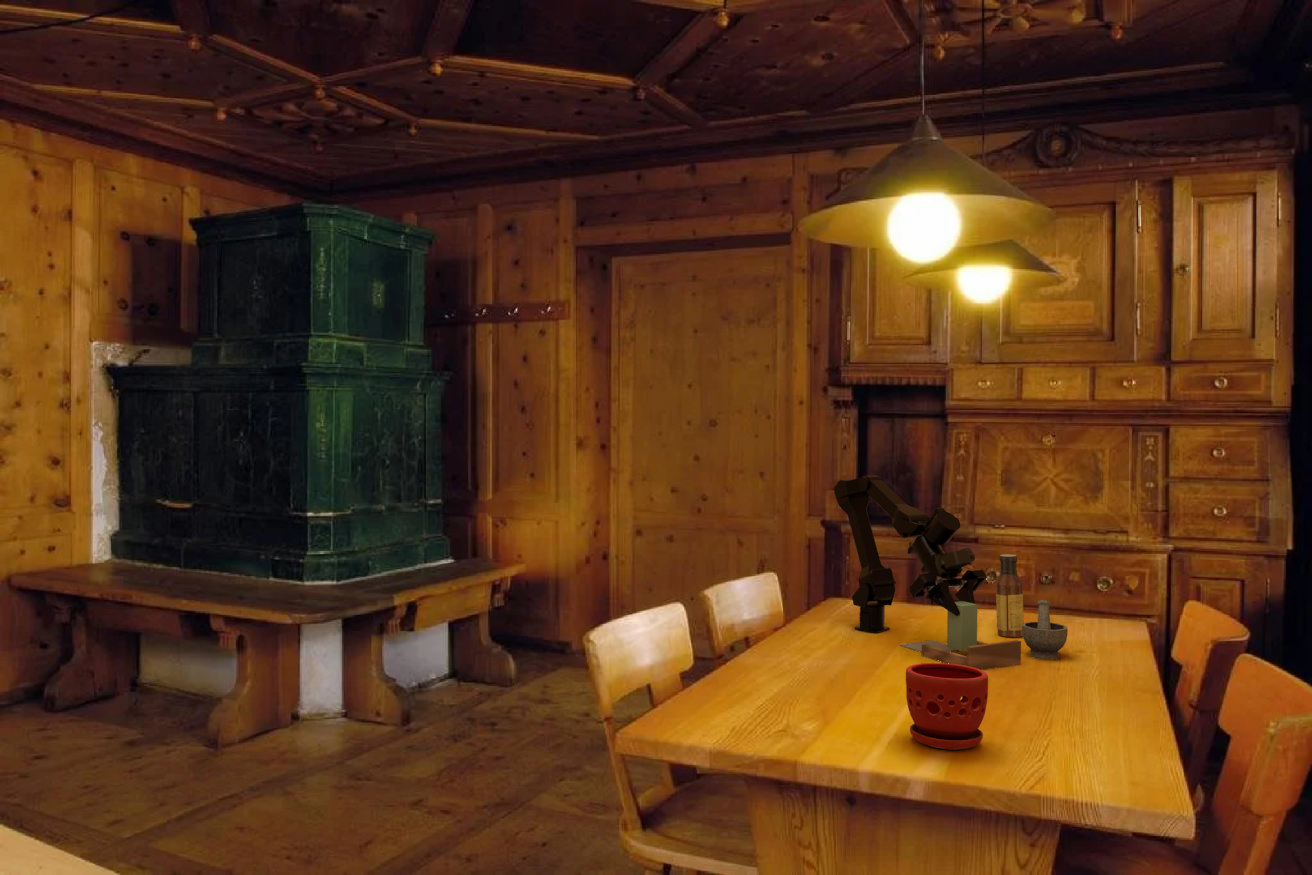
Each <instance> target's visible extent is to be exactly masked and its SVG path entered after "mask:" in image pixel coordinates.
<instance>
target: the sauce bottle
mask: <svg viewBox="0 0 1312 875" xmlns="http://www.w3.org/2000/svg"><path fill="white" fill-rule="evenodd" d="M999 562H1000V571H999V572H1000V574H999V575H998V577H997V579H996V581H995V584H996V587H995V589H996V593H995V597H996V598H995V600H996V601H995V602H996V603H995V605H996V629H997V634H998V636H1001V637H1003V638H1004V637H1005V638H1021V637H1023V633H1022V623H1025V622H1024V620H1025V617H1024V592H1023V583H1022V581H1021V579H1020V576H1019V575H1018V571H1017V570H1018V569H1017V562H1018V556H1017V555H1016V554H1013V553H1012V554H1011V553H1010V554H1009V553H1006V554H1000V555H999Z"/></svg>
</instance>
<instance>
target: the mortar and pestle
mask: <svg viewBox="0 0 1312 875" xmlns="http://www.w3.org/2000/svg"><path fill="white" fill-rule="evenodd" d="M1036 605H1037V606H1038V608H1037V610H1038V611H1037V621H1028V622H1027V621H1026V622H1024V623H1022V633H1023V636H1022V638H1023V641H1024V642H1025V645H1026V646H1027V647H1028V648H1029V657H1031V658H1033V657H1034V659H1039V660H1044V659H1053V661H1054V659H1055V660H1058V659H1059V656H1060V654H1059V651H1060V650H1061V649H1062V648H1064V646H1065V645H1066V642H1067V638H1068V626H1067V625H1064V624H1061V623H1055V622H1051V617H1050V616H1051V614H1050V606H1051V602H1050V601H1049V600H1046V599H1040V600H1038V601H1037V604H1036Z"/></svg>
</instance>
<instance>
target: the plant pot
mask: <svg viewBox="0 0 1312 875" xmlns="http://www.w3.org/2000/svg"><path fill="white" fill-rule="evenodd" d="M905 688H906V690H905V693H906V695H905V696H906V703H907V704H906V705H907V708H908V711H909V715H910V717H911V719H912V721H913V723H912V724H911V725H910V727H909V733H910V735H911V736H912V737H913V738H914V739H915V741H916V742H919V743H921V744H923V745H925V746H928V747H932V748H936V749H940V750H941V749H942V750H949V751H952V752H953V751H956V750H957V751H958V750H964V749H970V748H973V747H975V746H977V745H978V744H980V743H981V742H982V740H983V738H984V733H983V731H982V730H980V729H979V728H980V726H981V724H982V722H983V720H984V717H985V714H986V711H987V710H986V709H987V704H988V697H989V675H988V673H987V672H986V671H984V670H980V669H977V668H974V667H970V666H965V665H958V664H948V663H943V662H925V663H922V662H921V663H915V664H912V665H909V666H907V667H906V669H905Z"/></svg>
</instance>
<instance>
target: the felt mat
mask: <svg viewBox="0 0 1312 875" xmlns="http://www.w3.org/2000/svg"><path fill="white" fill-rule="evenodd" d="M923 644H927V645H930V646H934V647H937V648H940V649H944V650H947V651H954V652H958V651H957V650H955V649H952V648H949V647H947V643H944V642H940V641H937V640H933V639H931V640H926V641H925V640H924V641H916V642H914V641H913V642H909V643H900V644H899V646H901V647H903V646H904V647H903V648H906V647H907V648H906V649H909V650H913V651H916V650H917V651H916V652H919V651H920V653H922V645H923Z"/></svg>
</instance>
